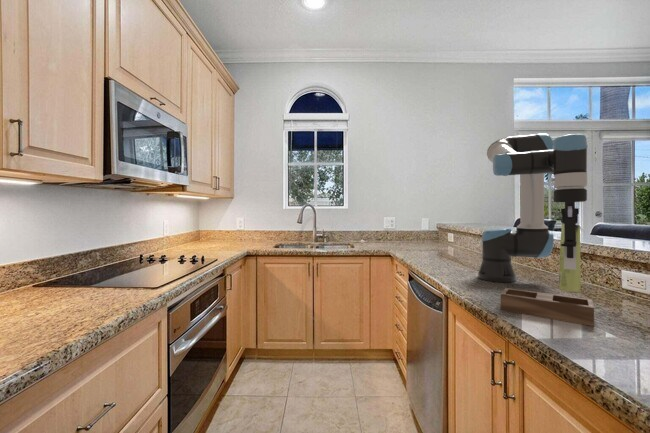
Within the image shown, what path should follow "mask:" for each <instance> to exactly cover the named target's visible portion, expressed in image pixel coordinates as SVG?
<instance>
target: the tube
mask: <svg viewBox="0 0 650 433" xmlns="http://www.w3.org/2000/svg"><path fill="white" fill-rule="evenodd" d="M580 228H581V226H580V224H579V225H578V224H576V270H570V269H564V246H561V244H564V242H565V236H564V223H561V230H560V247H559V269H558V289H559V290H561V291H565V292H571V293H580V292H581V278H582V277H581V274H582V273H581V229H580Z"/></svg>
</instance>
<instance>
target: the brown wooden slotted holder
mask: <svg viewBox="0 0 650 433" xmlns="http://www.w3.org/2000/svg"><path fill="white" fill-rule="evenodd" d="M500 311H504V312H509V313H510V312H511V313H515V314H522V315H527V316H528V315H529V316H533V317H540V318H545V319H549V320H556V321H562V322H567V323H572V324H579V325H586V326H591V327H595V306H594V302H593V299H591V298H585V297H579V296H570V295H563V294H555V293H546V292H538V291H533V290H525V289H518V288H510V287H509V288H508V287H505V288H504V289H503V291H502V292H501V293H500Z"/></svg>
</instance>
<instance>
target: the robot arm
mask: <svg viewBox="0 0 650 433" xmlns="http://www.w3.org/2000/svg"><path fill="white" fill-rule="evenodd" d="M587 150H588V144H587V136H586V135H585V134H583V133H571V134H565V135H561V136H560V135H559V136H557V137H556V138H554V139H553V138H552V137H551V135H550V134H548V133H532V134H522V135H513V136H506V137H503V138H500V139H497V140H495V141H494V142H492V143H491V144H490V145H489V146H488V148H487V150H486V156H487V159H488V160H489V161H490V162H491V163H492V172H493V175H495V176H497V177H498V176H503V177H507V176H518V175H519V176H520V177H519V178H520V180H519V181H520V189H519V190H520V199H519V200H520V205H519V206H520V208H519V209H520V210H519V211H520V212H519V213H520V215H519V216H520V217H519V218H520V223H519V224H518V225H517V226H516V227H515V228H516V229H515V230H512V228H511V227H501V228H500V227H499V228H491V229H490V228H489V229H486V230H483V231H482V233H481V234H482V235H481V236H482V237H481V243H482V244H481V246H482V249H481V250H482V251H481V256H482V257H481V263H480V266H479V270H478V271H477V272H478V273H477V277H478V278H479V279H481V280H483V281H488V282H496V283H497V282H498V283H512V282H514V283H515V282H516V281H517V276H516V273H515V269H514V266H513V264H512V257H513V258H514V257H516V258H535V259H538V258H541V259H543V258H544V259H545V258H548V257H549V256H550V255H551V254H552V251H553V249H554V243H555V242H554V240H555V238H554V237H555V236H554V233H553V231H551V230H549V227H548V225H546V224H545V174H550V175H553V178H551V179H550V182H552V183H553V188H554V191H553V202H554V203H564V208H561V209H560V214H561V216H562V217H561V219H562V220H561V224H564V236H565V242H564V244H561V246H564V269H570V270H576V225H577V224H578V221H579V216H578V215H579V212H580V208H579V207H578V208H577V207H576V204H575V203H584V202H586V201H587V199H588V189H586V188H585V187H588V172H587V168H588V167H587V166H588V165H587V163H588V157H587V154H588V153H587Z"/></svg>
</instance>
